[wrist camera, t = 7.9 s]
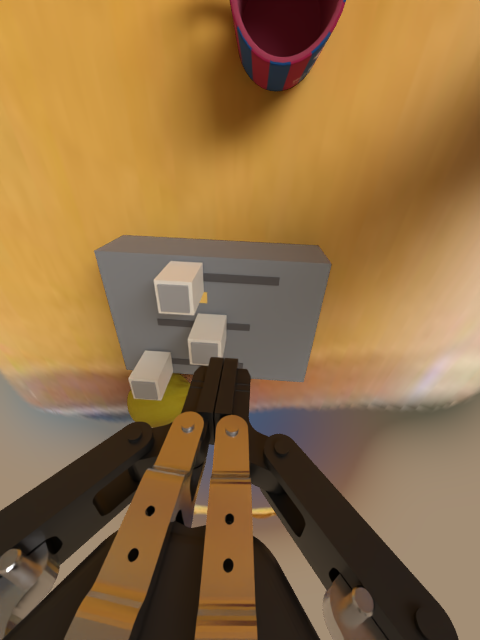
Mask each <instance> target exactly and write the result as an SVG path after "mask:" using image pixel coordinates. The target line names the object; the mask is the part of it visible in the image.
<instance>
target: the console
mask: <svg viewBox="0 0 480 640" xmlns="http://www.w3.org/2000/svg"><path fill="white" fill-rule="evenodd" d="M94 252H95V255H96V259H97V263H98V266H99V270H100V274H101V277H102V281H103V285H104V288H105V292H106V296H107V299H108V303H109V307H110V310H111V314H112V318H113V321H114V325H115V329H116V332H117V336H118V340H119V343H120V347H121V351H122V354H123V358H124V362H125V365H126V369H127V370H134V368H135V366H136V365H137V363H138V361H139V360H140V358H141V356H142V355H143V353H144V352H145V350H146V351H161V352H171V359H172V366H173V373H180V374H194V372H195V371H196V370H197V369H198V368H199V367H200V366H208V365H194V364H190V359H189V348H188V337H189V334H190V332H191V329H192V327H193V324H194V322H195V319H196V317H197V314H198V313H200V314H216V315H227V320H226V343H225V349H224V354H223V358H224V360H225V358H236V359H238V368H240V369H247V370H248V372H249V374H250V376H251V379H265V380H279V381H293V382H304V378H305V374H306V370H307V365H308V361H309V357H310V353H311V348H312V344H313V340H314V336H315V332H316V327H317V323H318V319H319V315H320V311H321V306H322V302H323V298H324V294H325V290H326V285H327V281H328V277H329V273H330V268H331V262H330V261H329V260H328V258H327V257H326V255H325V254H324V253H323V251H322V250H321V249H320V247H319V246H318V245H300V244H281V243H262V242H243V241H224V240H205V239H186V238H167V237H148V236H130V235H123V236H121V237H119V238H117V239H115V240H113V241H112V242H110V243H108V244H106V245H104V246H102V247H100V248H98V249H97V250H95V251H94ZM170 261H181V262H199V263H203V283H204V293H203V295H202V298H201V300H200V302H199V305H198V307H197V310H196V312H195V314H194V315H180V314H164V313H159V312H158V305H157V299H156V292H155V286H154V279H155V278H156V277H157V276H158V274H159V273H160V272H161V271H162V270H163V269H164V268H165V267H166V265H167V264H168V263H169V262H170Z"/></svg>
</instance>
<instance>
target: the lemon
mask: <svg viewBox="0 0 480 640" xmlns="http://www.w3.org/2000/svg"><path fill="white" fill-rule="evenodd" d="M189 388H190V383H189V382H188V381H187V380H186V379H185V378H184V377H183V376H182V375H180V374H179V373H172V376H171V378H170V380H169V383H168V385H167V388H166V390H165V393H164V395H163V398H162V400H147V399H134V397H133V394H132V390H130V392H129V393H128V398H127V406H128V411H129V413H130V415H131V417H132V419H133V420H134V421H135V422H146V423H148V424H149V425H150V426H151V427H159V426H164V425H167V424H170V423H171V422H173V421H174V419H175V418H176V417H177V416H178V415H180V414H181V412H182V409H183V406H184V403H185V400H186V396H187V393H188V390H189Z"/></svg>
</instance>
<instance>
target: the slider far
mask: <svg viewBox="0 0 480 640" xmlns="http://www.w3.org/2000/svg"><path fill="white" fill-rule="evenodd" d="M172 373H173V366H172V359H171V352H161V351H146V350H145V352H144V353H143V355H142V356H141V358H140V360H139V361H138V363H137V365H136V366H135V368H134V370H133V371H132V373H131V375H130V376H129V378H128V379H129V383H130V386H131V390H132V394H133V397H134V399H147V400H162V398H163V395H164V393H165V390H166V388H167V385H168V383H169V380H170V378H171V376H172Z"/></svg>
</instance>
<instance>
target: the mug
mask: <svg viewBox="0 0 480 640" xmlns="http://www.w3.org/2000/svg"><path fill="white" fill-rule="evenodd" d="M345 2H346V0H230V5H231V11H232V16H233V22H234V28H235V33H236V39H237V45H238V50H239V55H240V59H241V62H242V64H243V67H244V69H245V71H246V72H247V74H248V75H249V77H250V78H251V79H252V80H253V81H254V82H255V83H256V84H257V85H259V86H260V87H262V88H264V89H266V90H269V91H283V90H286V89H289V88H291V87H293V86H295V85H296V84H298V83H299V82H300V81H301V80H302V79H303V78H304V77H305V76H306V75H307V74H308V73H309V71H310V70H311V68H312V66H313V65H314V63H315V61H316V60H317V58H318V56H319V54H320V53H321V51H322V49H323V47H324V46H325V44H326V42H327V40H328V39H329V37H330V35H331V33H332V32H333V30H334V28H335V26H336V24H337V22H338V20H339V18H340V16H341V14H342V11H343V8H344V5H345Z"/></svg>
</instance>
